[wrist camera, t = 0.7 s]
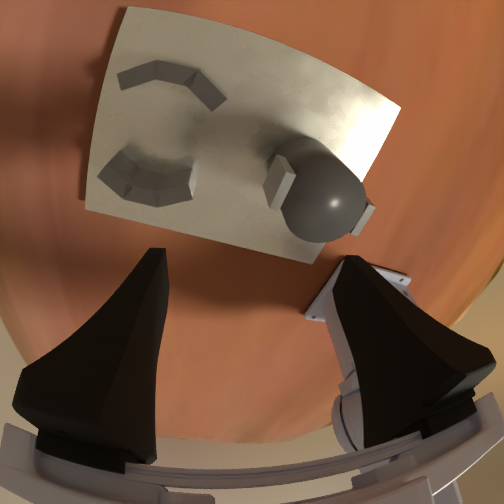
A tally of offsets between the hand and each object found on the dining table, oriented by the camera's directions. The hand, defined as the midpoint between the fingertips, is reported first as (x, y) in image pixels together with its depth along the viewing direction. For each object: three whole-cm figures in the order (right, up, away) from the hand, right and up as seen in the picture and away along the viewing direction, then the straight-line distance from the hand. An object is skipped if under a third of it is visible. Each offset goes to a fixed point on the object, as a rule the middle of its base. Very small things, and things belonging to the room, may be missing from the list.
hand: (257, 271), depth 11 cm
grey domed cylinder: (+3, +6, +6) cm, 9 cm away
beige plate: (-1, +8, +6) cm, 10 cm away
